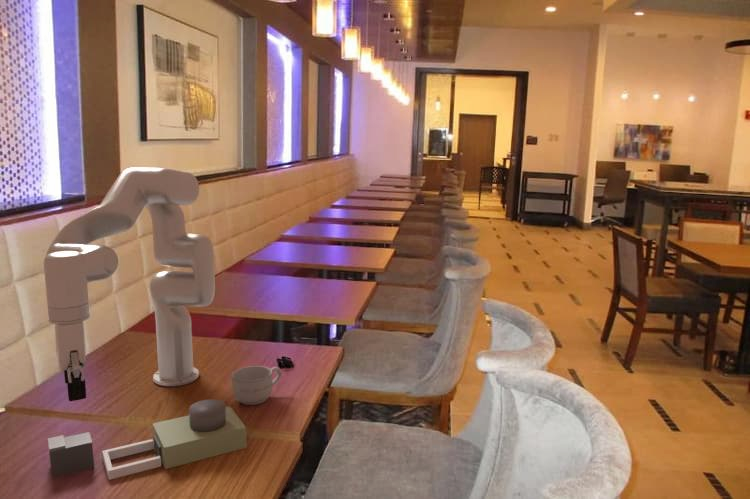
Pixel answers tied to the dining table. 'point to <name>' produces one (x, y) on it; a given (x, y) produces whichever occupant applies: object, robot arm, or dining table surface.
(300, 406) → the dining table surface
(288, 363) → the wireless earbuds
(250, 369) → the teacup
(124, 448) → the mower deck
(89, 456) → the grey block
